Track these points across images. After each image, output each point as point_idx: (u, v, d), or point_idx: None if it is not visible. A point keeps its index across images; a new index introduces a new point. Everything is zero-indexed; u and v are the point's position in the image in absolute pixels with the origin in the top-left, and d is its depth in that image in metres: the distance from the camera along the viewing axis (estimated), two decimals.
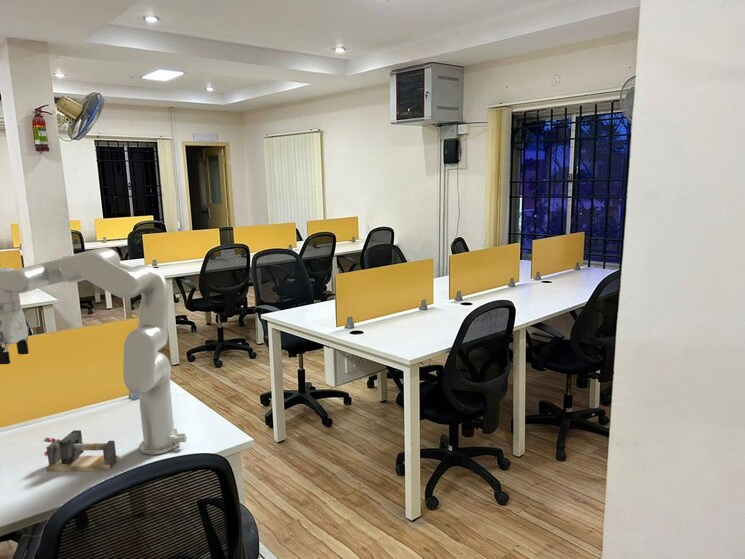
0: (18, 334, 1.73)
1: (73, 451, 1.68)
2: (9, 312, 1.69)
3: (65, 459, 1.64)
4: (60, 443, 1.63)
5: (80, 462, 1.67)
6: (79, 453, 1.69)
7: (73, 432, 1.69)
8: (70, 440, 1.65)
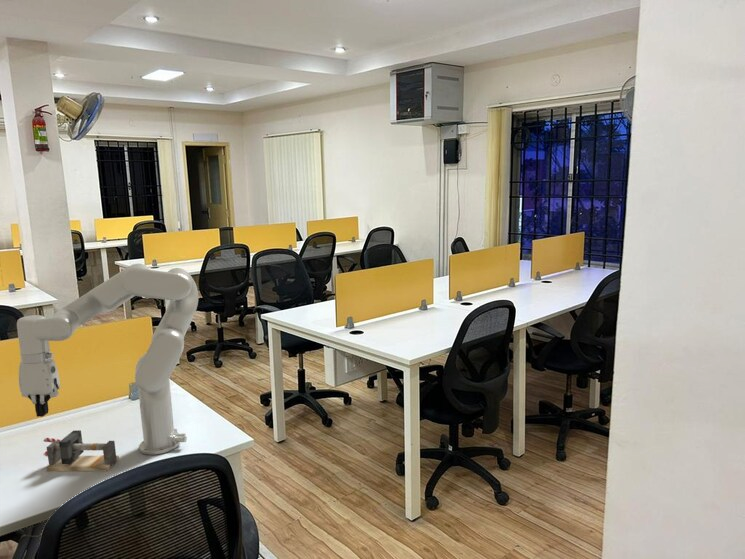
0: None
1: (73, 451, 1.68)
2: None
3: (65, 459, 1.64)
4: (60, 443, 1.63)
5: (80, 462, 1.67)
6: (79, 453, 1.69)
7: (73, 432, 1.69)
8: (70, 440, 1.65)
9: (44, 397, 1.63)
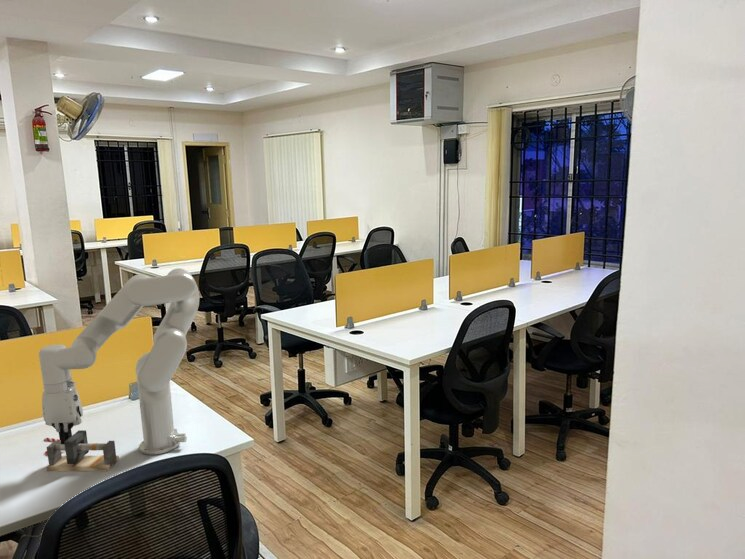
0: None
1: (78, 451, 1.68)
2: None
3: (70, 459, 1.64)
4: (65, 443, 1.63)
5: (80, 462, 1.67)
6: (84, 453, 1.69)
7: (78, 432, 1.69)
8: (75, 440, 1.65)
9: (68, 425, 1.65)
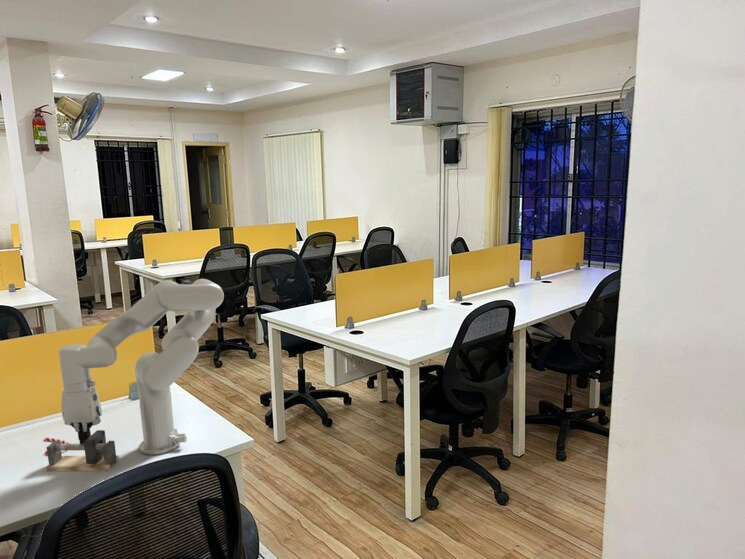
0: None
1: (97, 451, 1.68)
2: None
3: (90, 459, 1.64)
4: (85, 443, 1.63)
5: (80, 462, 1.67)
6: None
7: (97, 432, 1.69)
8: (94, 440, 1.64)
9: (87, 425, 1.65)
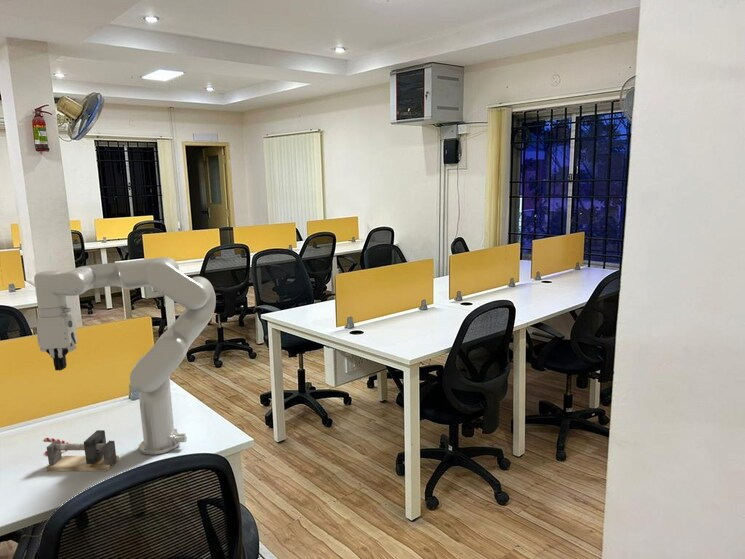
0: None
1: (97, 451, 1.68)
2: None
3: (90, 459, 1.64)
4: (85, 443, 1.63)
5: (80, 462, 1.67)
6: None
7: (97, 432, 1.69)
8: (94, 440, 1.64)
9: (62, 351, 1.67)
